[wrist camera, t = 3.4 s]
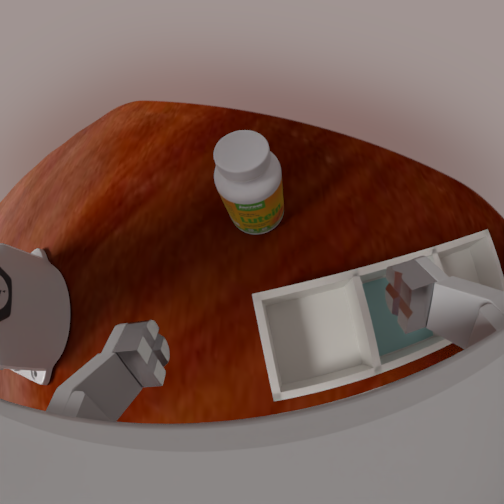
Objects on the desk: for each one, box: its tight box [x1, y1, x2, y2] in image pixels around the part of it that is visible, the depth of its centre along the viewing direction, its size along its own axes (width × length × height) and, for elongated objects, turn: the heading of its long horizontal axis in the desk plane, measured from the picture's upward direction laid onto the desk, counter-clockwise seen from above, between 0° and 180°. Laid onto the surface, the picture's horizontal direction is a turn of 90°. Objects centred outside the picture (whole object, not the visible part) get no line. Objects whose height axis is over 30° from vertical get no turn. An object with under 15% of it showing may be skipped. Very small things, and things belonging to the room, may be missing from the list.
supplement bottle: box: [213, 130, 284, 235], centre depth 23 cm, size 5×5×10 cm
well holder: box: [252, 229, 504, 401], centre depth 20 cm, size 23×8×4 cm, turn 101°
